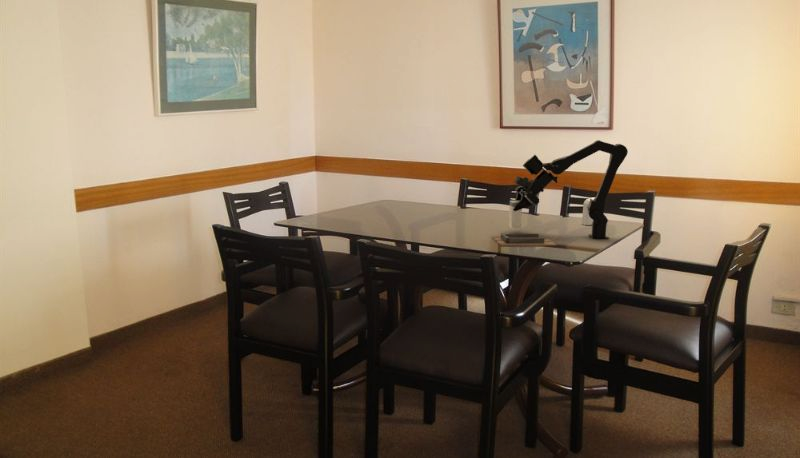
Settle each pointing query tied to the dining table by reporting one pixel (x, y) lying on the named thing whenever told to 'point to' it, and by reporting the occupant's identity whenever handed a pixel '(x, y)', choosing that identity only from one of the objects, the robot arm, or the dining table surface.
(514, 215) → the cream square-faced block
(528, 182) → the robot arm
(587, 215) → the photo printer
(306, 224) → the dining table surface
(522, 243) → the brown flat board
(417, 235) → the dining table surface
